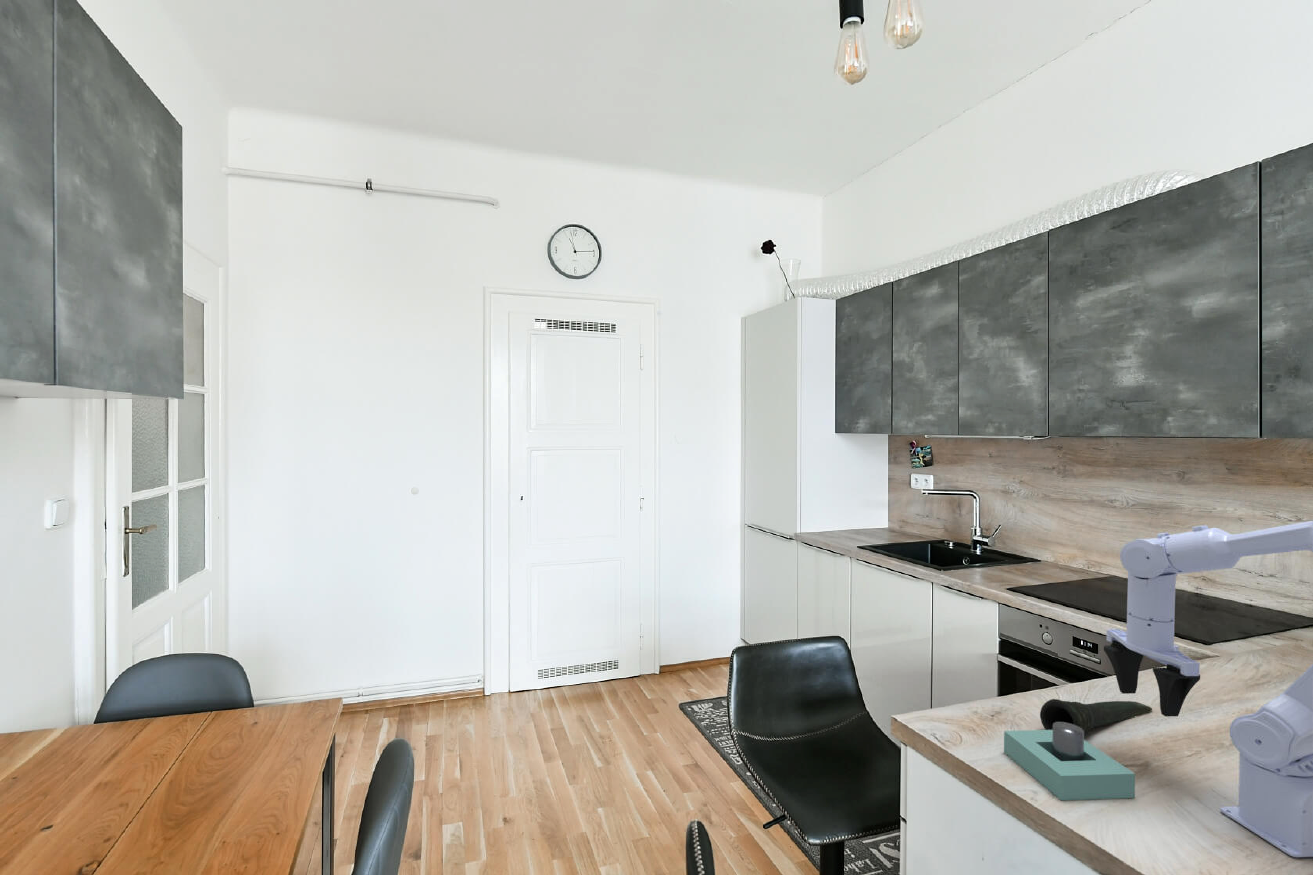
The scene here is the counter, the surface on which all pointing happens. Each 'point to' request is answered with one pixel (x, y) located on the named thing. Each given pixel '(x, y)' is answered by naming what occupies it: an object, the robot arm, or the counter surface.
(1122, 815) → the counter surface
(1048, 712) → the tool
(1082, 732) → the pin
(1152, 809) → the counter surface
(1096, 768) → the hole block
